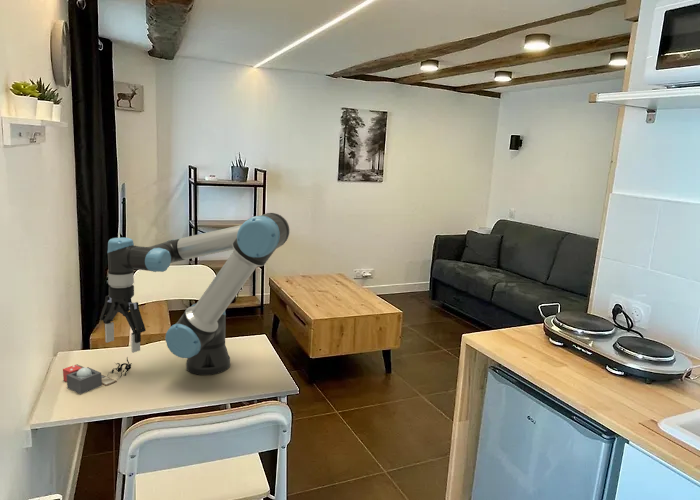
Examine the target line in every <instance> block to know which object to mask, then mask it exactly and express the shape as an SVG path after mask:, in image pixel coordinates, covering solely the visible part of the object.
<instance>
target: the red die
mask: <svg viewBox="0 0 700 500" xmlns="http://www.w3.org/2000/svg"><path fill="white" fill-rule="evenodd" d="M79 369H81V367H79V366H77V365H76V364H74V365H71V366H67V367H65V368H62V374H63V376H62V377H63V382H66V383H67V375H68V374H70V373H73V372H76V371H78V370H79Z"/></svg>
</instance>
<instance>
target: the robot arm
mask: <svg viewBox="0 0 700 500" xmlns="http://www.w3.org/2000/svg"><path fill="white" fill-rule="evenodd" d="M290 230H291V229H290V225H289V223H288V221H287V220H286V218H285V217H283V216H282V215H281V214H279V213H274V212H267V213H264V214H261V215H255V216H252V217H250V218H248V219H247V220H245V221H244V222H243V223H242V224H240V225H234V226H230V227H227V228H222V229H216V230H212V231H208V232H203V233H198V234H193V235H190V236H185V237H182V238H177V239H170V240H167V241H164V242H161V243H158V244H155V245H151V246H139V245H134V244H135V243H134V240H133V239H132V238H129V237H112V238H110V239H109V240H108V242H107V252H106V253H107V265H108V267H107V268H108V270H107V271H108V272H107V274H108V276H107V279H108V281H107V282H108V283H107V284H108V295H106V296H105V299H104V305H103V307H102V309H101V313H100V316H99V320H100V321H103V324H104V333H105V334H104V336H105V337H104V338H105V339H104V340H105V343H110V342H114V341H115V326H114V325H115V324H114V319H115V317H116V316H117V314H118V313H119V314H122V316H123V317H125V319H126V321H127V323H128V325H129V327H130V329H131V331H132V333H131V334H130V335H131V336H130V337H131V341H130V343H131V353H136V352H139V351H141V341H142V339H141V338H142V336H141V335H142V333H144V332H146V326H145V323H144V321H143V317H142V314H141V311H140V305H139V302H138V301H136V302H133V301H132V298H133V297H134V295H135V286H134V284H135V281H134V280H135V279H134V270H139V271H147V272H152V273H156V272H160V273H163V272H166V271H167V270H168V268H169V267H170V266H171V264H173V263H177V262H181V261H185V260H189V259H196V258H200V257H204V256H209V255H213V254H214V255H215V254H219V253H224V252H229V251H232V253H231V254H230V256H229V257H228V258H227V260H226V261H225V263H224V264H222V265H223V266H222V267H221V268H220V270H219V271H218V272H217V274H216V275H215V277H214V278H213V280H212V281H211V282H210V284H209V285H208V286H207V288H206V289H205V290H204V292H203V294H202V295H201V297H200V298H199V299H198V301H197V302H196V303H193V304H192V305H191V306H189V307H187V308H186V309H185V311H184V312H183V314H182V315H181V317H180V318H179V319H178V321H177V322H176V323H175V324H172V325H171V326H170V327H169V328H168V329H167V331H166V333H165V339H164V340H165V343H166V347H167V348H168V350H169V351H170V352H171V354H173V355H174V356H176V357H177V358H180V359H186V363H185V365H186V367H185V368H186V370H187V371H188V372H189V373H191V374H195V375H200V376H201V375H203V376H206V375H207V376H208V375H209V376H210V375H215V374H216V375H217V374H220V373H222V372H224V371H227V370H228V369H229V368H230V367H231V357H230V355H229V352H228V349H227V347H226V316H227V314H226V310H227V308H228V307H229V305H231V303H232V302H233V301H234V299H235V297H236V296H237V295H238V293H239V292H240V291H241V289H242V288H243V287H244V285H245V284H246V283H247V281H248V279H249V278H250V277H251V275H252V274H253V273H254V271H255V270H256V269H257V267H263V266H265V265H266V264H267V262H268V261H269V260H270V258H271V257H272V255H273V254H274V253H275V251H276V250H277V249H278V248H280V247H282V246H284V245H285V243H287V241H288V240H289V236H290Z"/></svg>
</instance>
